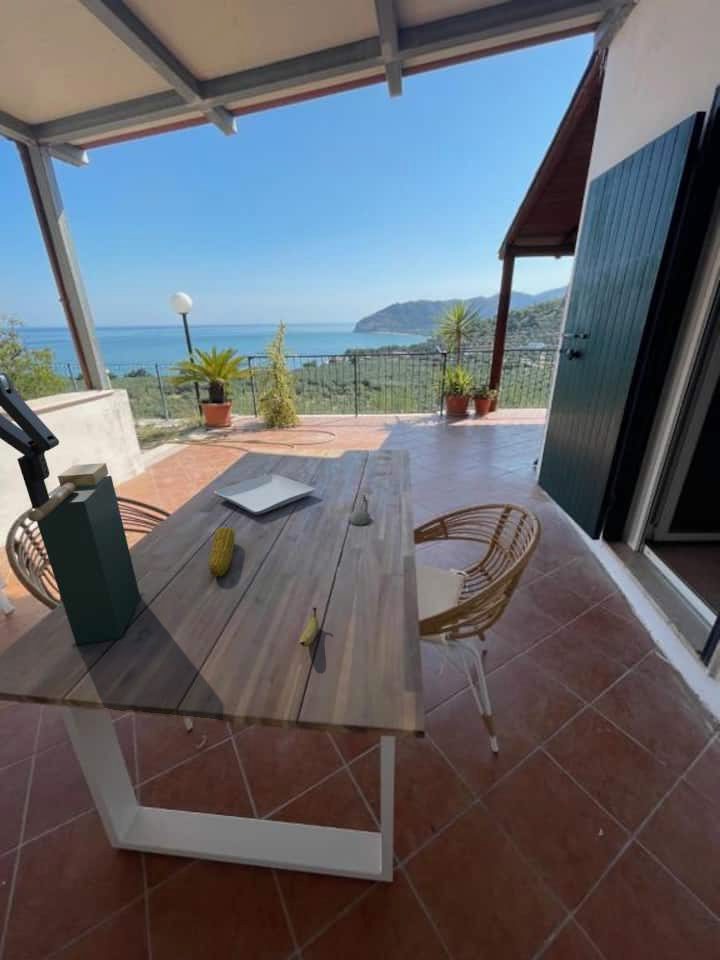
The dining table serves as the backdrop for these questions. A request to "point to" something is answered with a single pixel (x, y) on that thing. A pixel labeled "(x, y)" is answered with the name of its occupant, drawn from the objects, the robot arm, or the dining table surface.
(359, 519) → the soupspoon
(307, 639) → the banana
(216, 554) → the food
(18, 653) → the dining table surface
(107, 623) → the stand
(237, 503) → the square plate
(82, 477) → the wooden mallet
